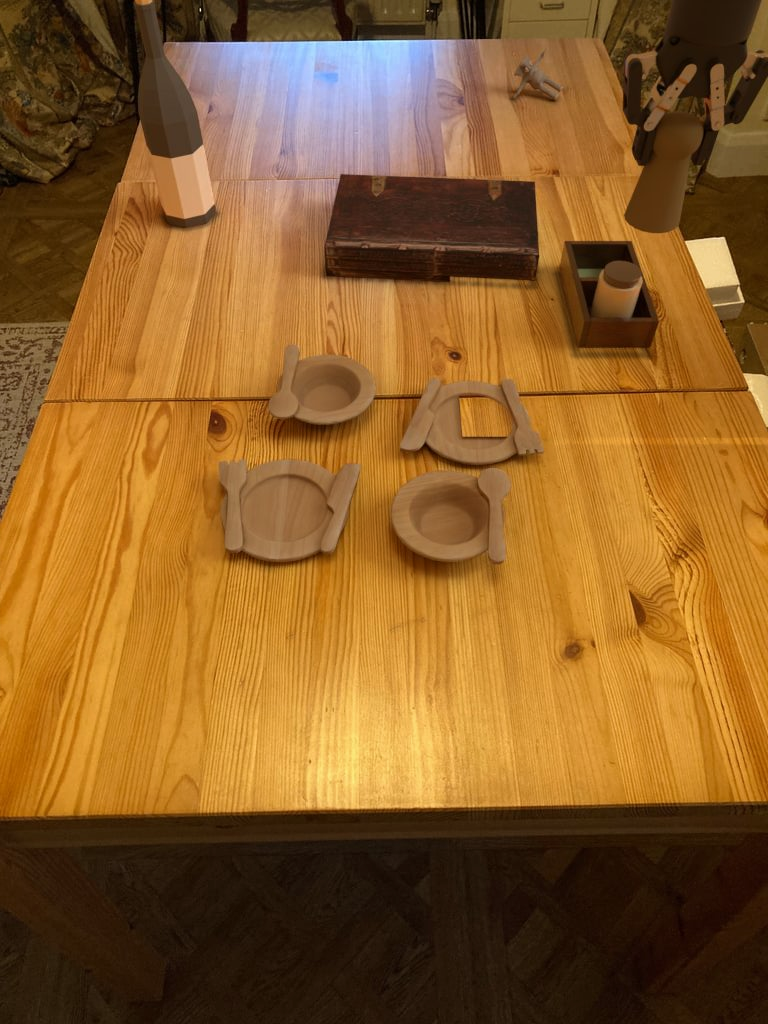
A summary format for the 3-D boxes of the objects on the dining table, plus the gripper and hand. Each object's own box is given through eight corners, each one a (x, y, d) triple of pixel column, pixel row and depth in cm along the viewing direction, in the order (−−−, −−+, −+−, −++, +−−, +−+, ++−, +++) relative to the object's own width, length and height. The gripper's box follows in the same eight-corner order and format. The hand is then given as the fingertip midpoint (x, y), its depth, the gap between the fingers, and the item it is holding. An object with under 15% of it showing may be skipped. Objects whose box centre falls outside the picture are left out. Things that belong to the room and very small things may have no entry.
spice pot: (624, 312, 101) (640, 258, 95) (632, 337, 98) (648, 283, 91) (584, 312, 101) (597, 258, 95) (591, 337, 98) (605, 283, 91)
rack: (622, 272, 108) (631, 240, 104) (648, 353, 97) (659, 321, 93) (558, 272, 108) (564, 240, 104) (576, 353, 97) (584, 321, 93)
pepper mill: (690, 226, 84) (725, 124, 76) (644, 238, 83) (674, 136, 74) (658, 199, 88) (687, 99, 79) (613, 210, 86) (638, 109, 78)
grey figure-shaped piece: (544, 112, 138) (503, 84, 138) (541, 125, 144) (501, 97, 144) (578, 62, 137) (536, 33, 137) (573, 77, 143) (533, 49, 143)
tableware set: (192, 557, 78) (184, 533, 75) (260, 366, 96) (255, 340, 93) (540, 596, 75) (546, 572, 72) (542, 391, 93) (548, 366, 90)
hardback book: (326, 276, 108) (323, 244, 104) (342, 205, 119) (340, 174, 115) (534, 286, 106) (539, 254, 102) (530, 212, 118) (534, 181, 114)
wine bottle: (159, 228, 115) (101, 0, 92) (167, 200, 120) (113, -23, 97) (213, 227, 115) (169, -1, 92) (219, 199, 120) (178, -24, 97)
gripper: (652, -12, 65) (606, 181, 78) (822, -13, 65) (747, 180, 78) (633, -42, 69) (593, 145, 83) (791, -43, 69) (726, 144, 83)
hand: (668, 161), depth 80 cm, fingers closed on pepper mill, 5 cm apart
